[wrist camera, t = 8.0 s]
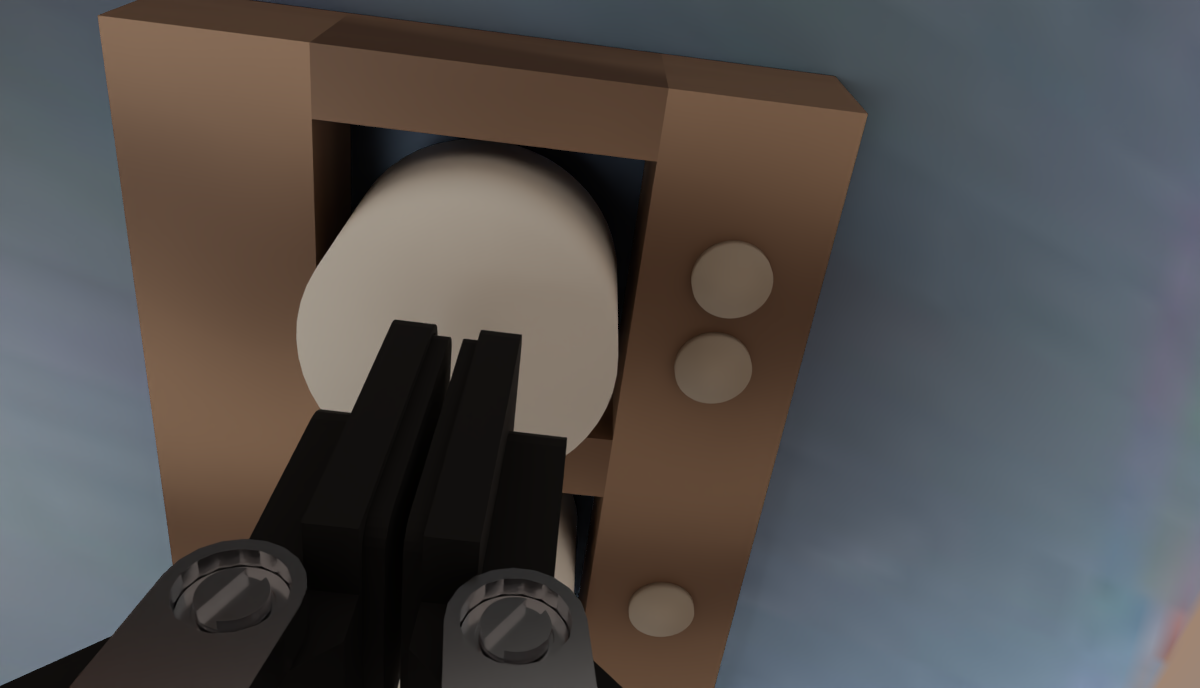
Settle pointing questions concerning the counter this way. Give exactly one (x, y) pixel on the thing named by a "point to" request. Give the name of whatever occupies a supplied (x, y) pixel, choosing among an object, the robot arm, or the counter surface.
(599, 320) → the button
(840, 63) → the counter surface
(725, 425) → the button panel
